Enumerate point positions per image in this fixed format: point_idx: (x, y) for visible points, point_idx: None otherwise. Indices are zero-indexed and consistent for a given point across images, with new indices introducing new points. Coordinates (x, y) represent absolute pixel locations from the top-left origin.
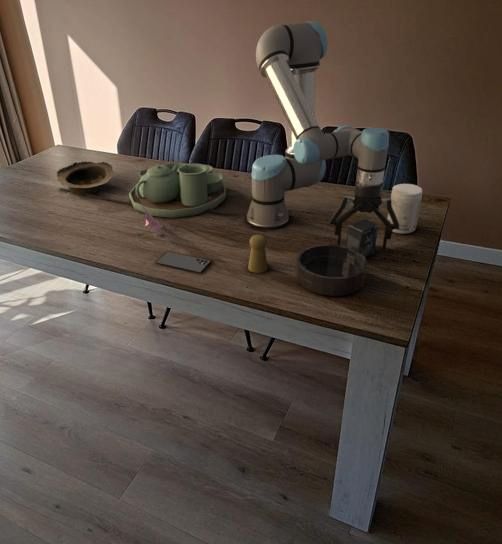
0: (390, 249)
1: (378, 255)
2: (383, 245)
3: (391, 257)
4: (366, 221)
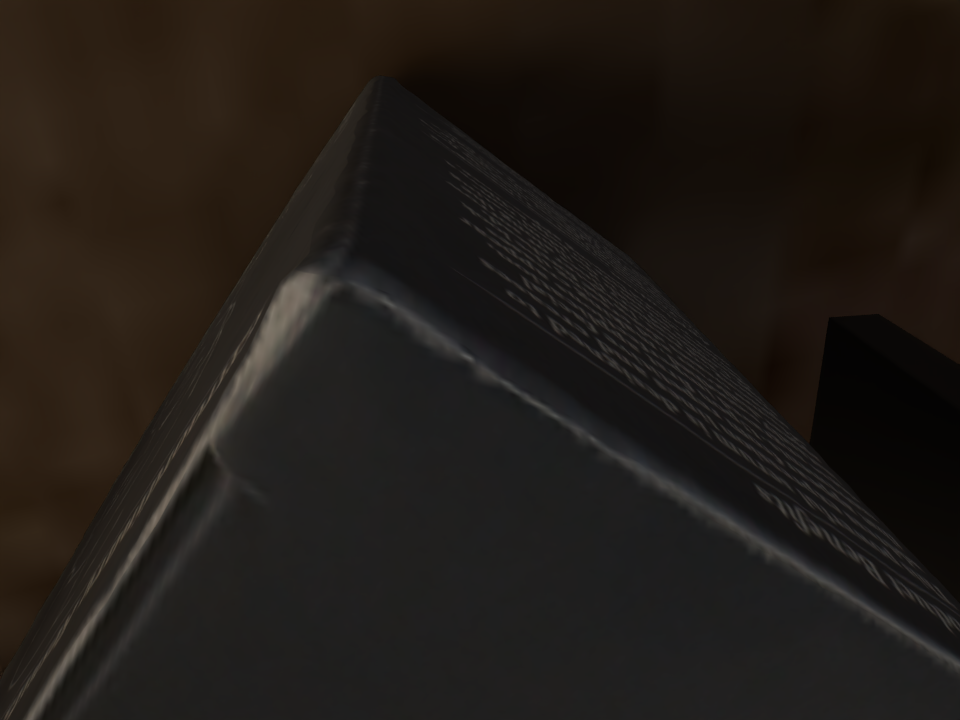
0: (930, 11)
1: (694, 295)
2: None
3: (886, 306)
4: (479, 694)
